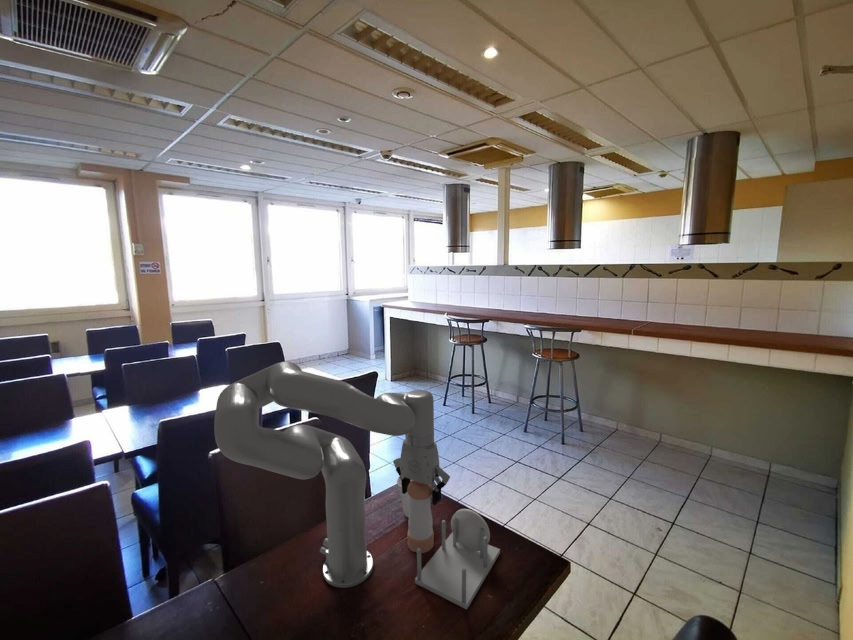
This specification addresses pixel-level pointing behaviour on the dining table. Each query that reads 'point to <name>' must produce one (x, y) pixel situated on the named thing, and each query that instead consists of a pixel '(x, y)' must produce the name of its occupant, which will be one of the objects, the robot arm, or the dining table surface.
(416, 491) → the salt shaker
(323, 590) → the dining table surface
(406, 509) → the cup
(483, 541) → the dish rack
